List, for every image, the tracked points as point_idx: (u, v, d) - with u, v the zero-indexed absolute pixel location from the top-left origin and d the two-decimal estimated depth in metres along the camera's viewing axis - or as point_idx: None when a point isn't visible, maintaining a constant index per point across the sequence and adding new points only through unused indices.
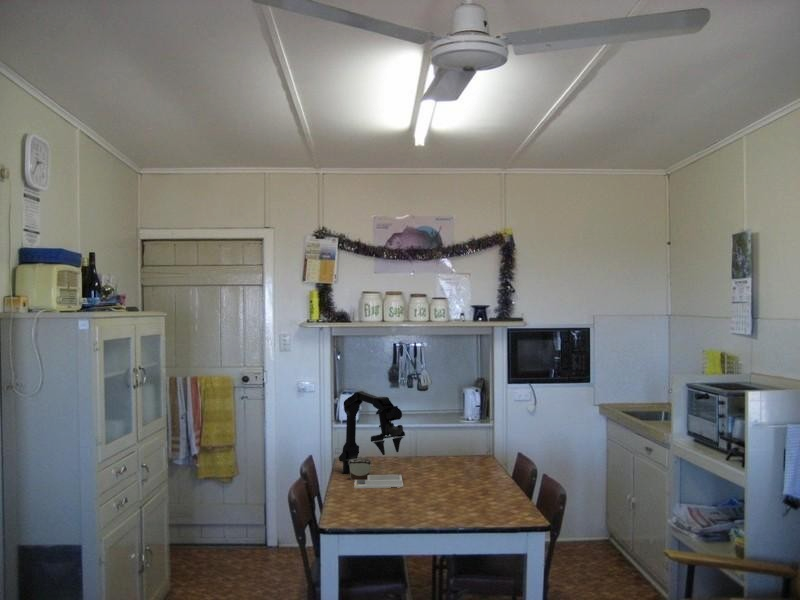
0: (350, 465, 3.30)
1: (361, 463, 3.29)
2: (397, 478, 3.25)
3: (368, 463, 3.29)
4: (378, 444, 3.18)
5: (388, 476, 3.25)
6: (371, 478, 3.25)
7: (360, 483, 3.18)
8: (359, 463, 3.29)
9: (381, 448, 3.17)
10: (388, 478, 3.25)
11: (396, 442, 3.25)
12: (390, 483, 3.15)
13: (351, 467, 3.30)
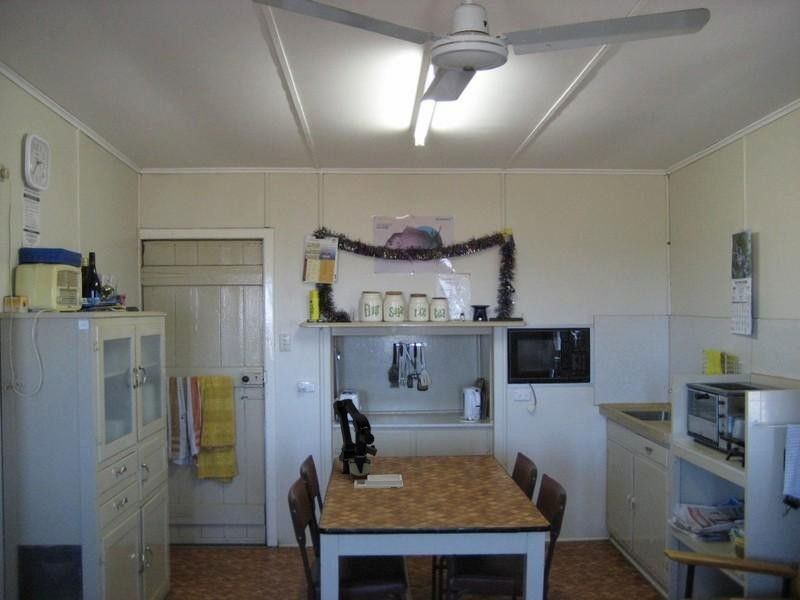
0: (350, 465, 3.30)
1: None
2: (397, 478, 3.25)
3: (368, 463, 3.29)
4: (358, 463, 3.27)
5: (388, 476, 3.25)
6: (371, 478, 3.25)
7: (360, 483, 3.18)
8: None
9: (361, 467, 3.28)
10: (388, 478, 3.25)
11: None
12: (390, 483, 3.15)
13: (351, 467, 3.30)
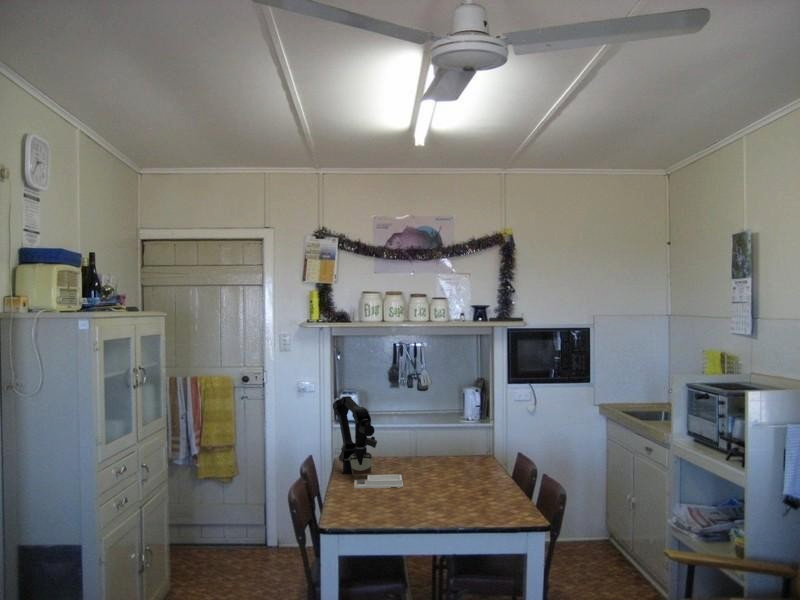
0: (351, 461, 3.29)
1: None
2: (397, 478, 3.25)
3: (369, 457, 3.29)
4: (358, 454, 3.28)
5: (388, 476, 3.25)
6: (371, 478, 3.25)
7: (360, 483, 3.18)
8: None
9: (361, 458, 3.28)
10: (388, 478, 3.25)
11: None
12: (390, 483, 3.15)
13: (352, 463, 3.29)
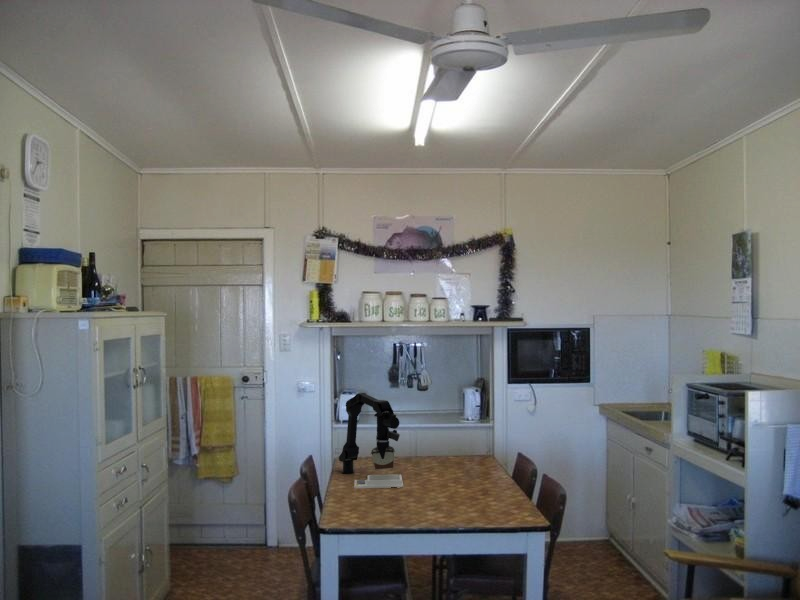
0: (373, 455, 3.19)
1: None
2: (397, 478, 3.25)
3: (391, 451, 3.19)
4: (380, 448, 3.17)
5: (388, 476, 3.25)
6: (371, 478, 3.25)
7: (360, 483, 3.18)
8: None
9: (383, 452, 3.17)
10: (388, 478, 3.25)
11: None
12: (390, 483, 3.15)
13: (374, 457, 3.19)
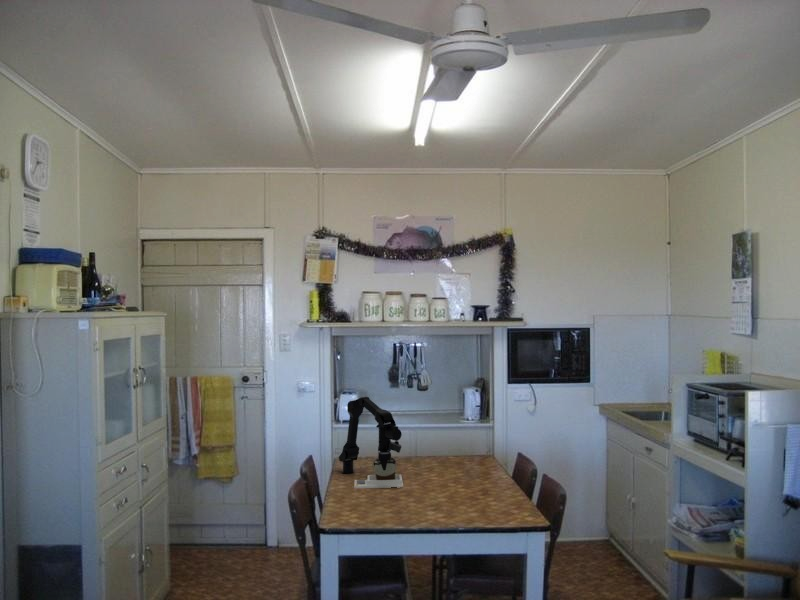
0: (374, 467, 3.18)
1: None
2: (397, 478, 3.25)
3: (393, 463, 3.18)
4: (382, 460, 3.16)
5: None
6: (371, 478, 3.25)
7: (360, 483, 3.18)
8: None
9: (385, 464, 3.17)
10: None
11: None
12: (390, 483, 3.15)
13: (376, 469, 3.18)
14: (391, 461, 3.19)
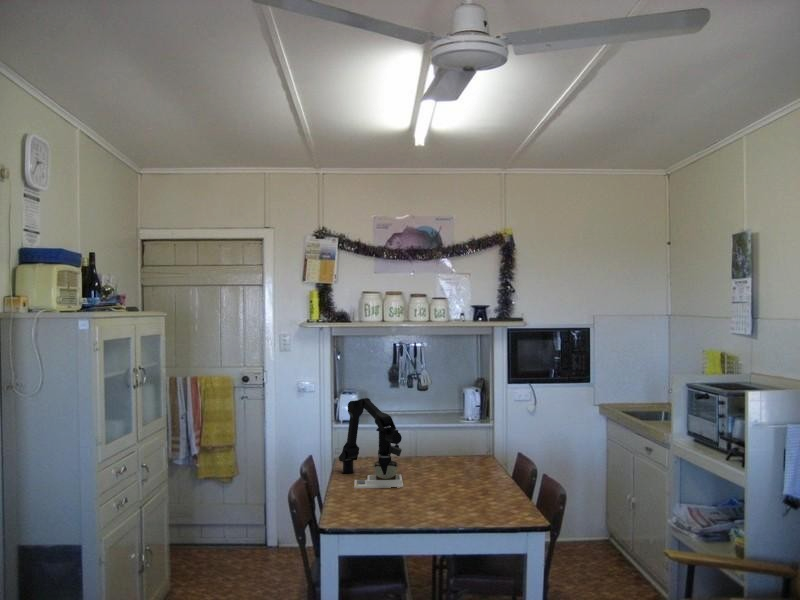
0: (376, 468, 3.19)
1: None
2: (397, 478, 3.25)
3: (394, 465, 3.19)
4: (382, 464, 3.15)
5: None
6: (371, 478, 3.25)
7: (360, 483, 3.18)
8: None
9: (385, 468, 3.15)
10: None
11: None
12: (390, 483, 3.15)
13: (377, 470, 3.19)
14: (392, 464, 3.20)
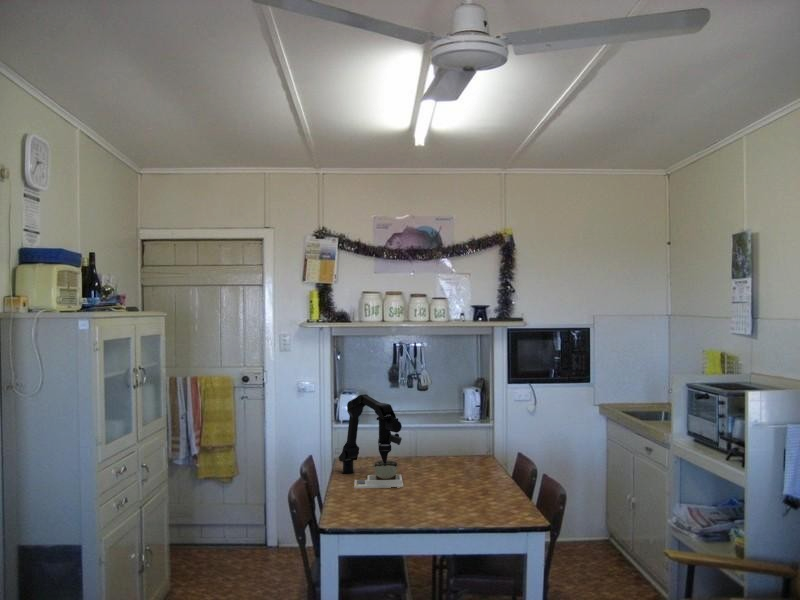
0: (376, 468, 3.19)
1: (387, 465, 3.20)
2: (397, 478, 3.25)
3: (394, 465, 3.20)
4: (382, 452, 3.15)
5: None
6: (371, 478, 3.25)
7: (360, 483, 3.18)
8: (385, 465, 3.19)
9: (385, 457, 3.15)
10: None
11: None
12: (390, 483, 3.15)
13: (377, 470, 3.19)
14: (392, 464, 3.21)
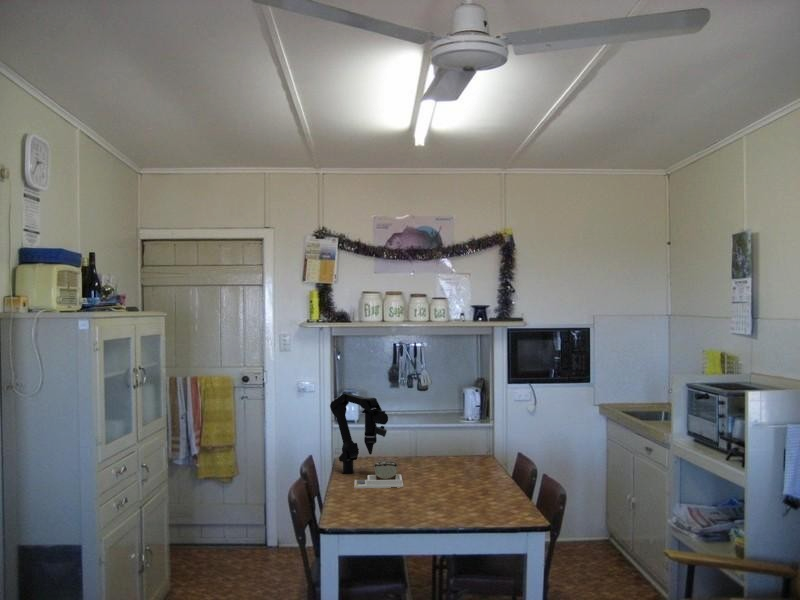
0: (376, 468, 3.19)
1: (387, 465, 3.20)
2: (397, 478, 3.25)
3: (394, 465, 3.20)
4: (368, 444, 3.28)
5: None
6: (371, 478, 3.25)
7: (360, 483, 3.18)
8: (385, 465, 3.20)
9: (371, 448, 3.29)
10: None
11: None
12: (390, 483, 3.15)
13: (377, 470, 3.19)
14: (392, 464, 3.21)
